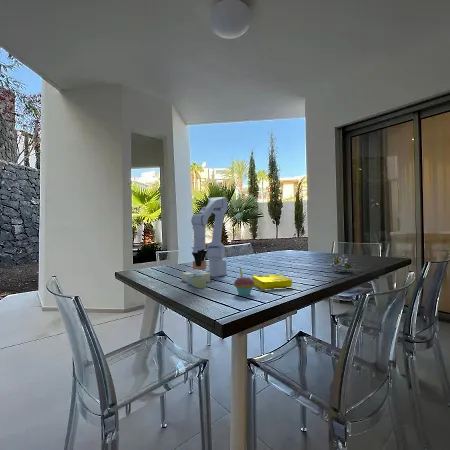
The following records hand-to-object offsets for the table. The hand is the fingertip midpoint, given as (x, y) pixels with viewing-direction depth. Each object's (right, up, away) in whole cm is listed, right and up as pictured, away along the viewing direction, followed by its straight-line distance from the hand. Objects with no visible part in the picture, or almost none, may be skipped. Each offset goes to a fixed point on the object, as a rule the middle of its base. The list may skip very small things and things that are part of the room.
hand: (199, 265), depth 146 cm
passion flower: (+82, -8, +28) cm, 87 cm away
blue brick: (-2, -9, -2) cm, 9 cm away
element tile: (+34, -9, -8) cm, 36 cm away
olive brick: (0, -9, -9) cm, 12 cm away
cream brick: (+3, -8, +5) cm, 10 cm away
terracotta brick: (0, -2, 0) cm, 2 cm away
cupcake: (+21, -9, -23) cm, 32 cm away
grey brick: (-6, -9, +4) cm, 11 cm away
